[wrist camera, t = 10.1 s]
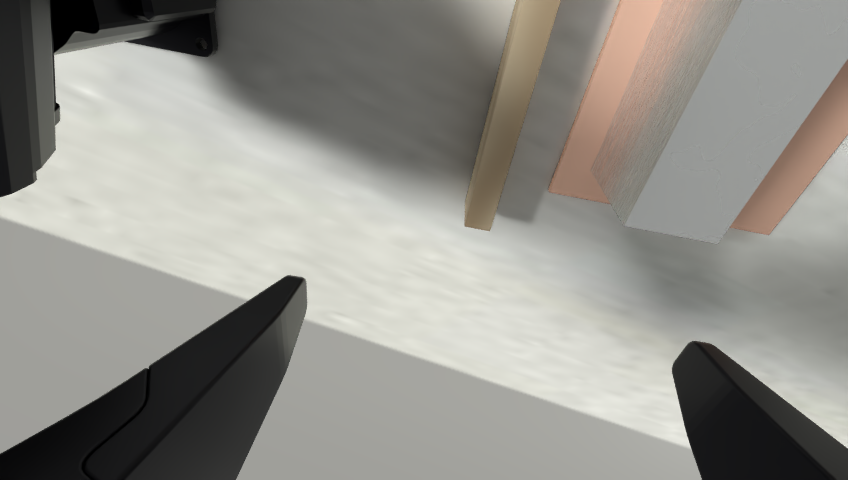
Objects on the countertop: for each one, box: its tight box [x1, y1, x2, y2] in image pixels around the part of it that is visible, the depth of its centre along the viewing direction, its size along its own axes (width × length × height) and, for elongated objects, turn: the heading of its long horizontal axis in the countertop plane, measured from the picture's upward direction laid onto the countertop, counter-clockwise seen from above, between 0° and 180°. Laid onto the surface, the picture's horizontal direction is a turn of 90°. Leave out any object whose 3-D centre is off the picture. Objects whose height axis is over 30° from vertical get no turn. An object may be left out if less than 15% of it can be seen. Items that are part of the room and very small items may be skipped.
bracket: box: [590, 0, 848, 244], centre depth 14 cm, size 10×8×5 cm
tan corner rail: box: [465, 0, 561, 231], centre depth 15 cm, size 15×18×2 cm
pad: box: [548, 0, 848, 235], centre depth 16 cm, size 11×13×1 cm
